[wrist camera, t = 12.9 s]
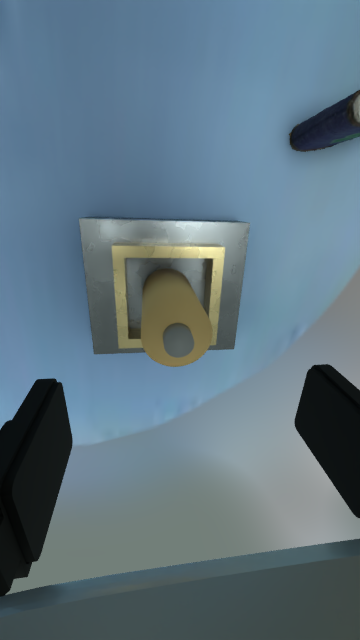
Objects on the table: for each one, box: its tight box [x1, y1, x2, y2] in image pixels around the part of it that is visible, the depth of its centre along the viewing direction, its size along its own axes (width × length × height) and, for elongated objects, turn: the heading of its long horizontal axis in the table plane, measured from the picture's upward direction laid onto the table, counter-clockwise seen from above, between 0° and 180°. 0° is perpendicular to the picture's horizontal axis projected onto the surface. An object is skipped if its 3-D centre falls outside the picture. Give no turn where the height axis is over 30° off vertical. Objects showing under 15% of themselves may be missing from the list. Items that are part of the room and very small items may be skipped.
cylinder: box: [141, 268, 213, 367], centre depth 22 cm, size 5×5×11 cm
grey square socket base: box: [79, 217, 250, 354], centre depth 28 cm, size 14×16×6 cm
